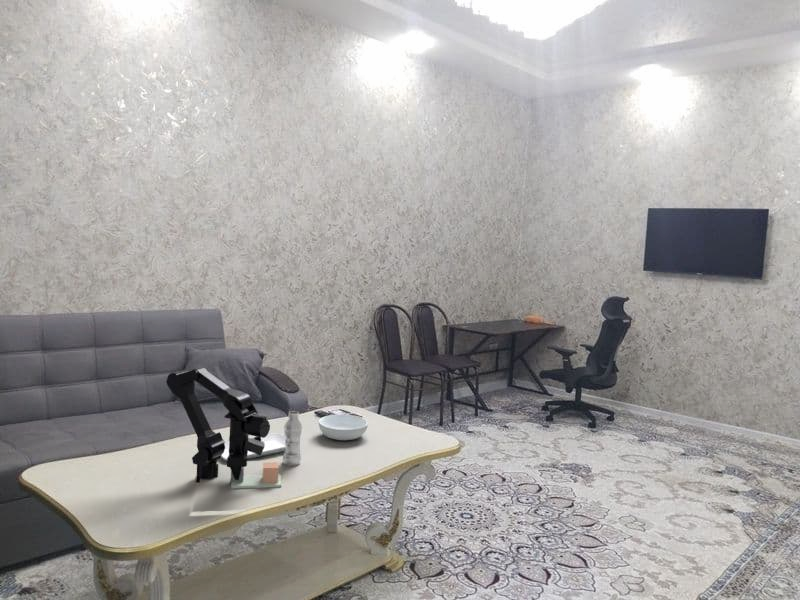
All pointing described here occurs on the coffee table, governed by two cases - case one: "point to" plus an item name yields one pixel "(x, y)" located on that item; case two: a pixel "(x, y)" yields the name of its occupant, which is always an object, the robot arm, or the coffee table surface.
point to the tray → (272, 445)
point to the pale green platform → (252, 481)
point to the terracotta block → (270, 472)
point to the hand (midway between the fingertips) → (237, 478)
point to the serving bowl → (343, 426)
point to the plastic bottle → (292, 440)
